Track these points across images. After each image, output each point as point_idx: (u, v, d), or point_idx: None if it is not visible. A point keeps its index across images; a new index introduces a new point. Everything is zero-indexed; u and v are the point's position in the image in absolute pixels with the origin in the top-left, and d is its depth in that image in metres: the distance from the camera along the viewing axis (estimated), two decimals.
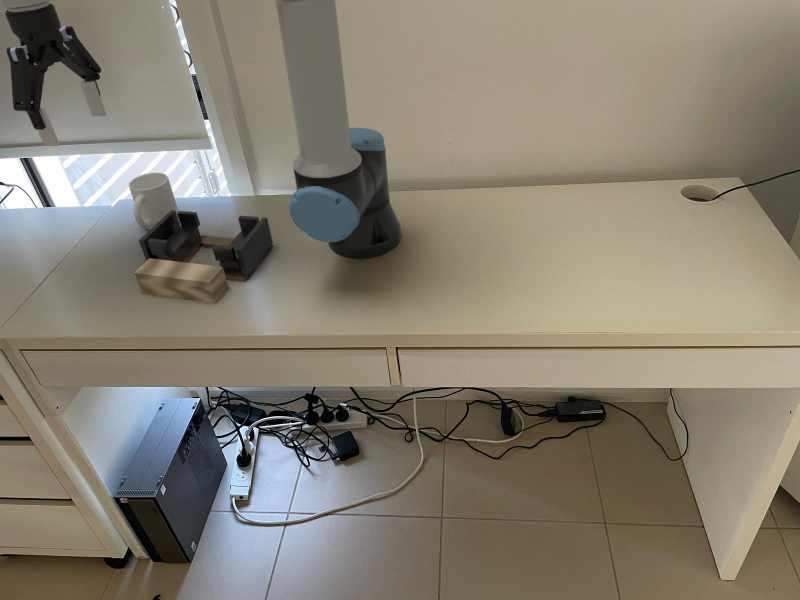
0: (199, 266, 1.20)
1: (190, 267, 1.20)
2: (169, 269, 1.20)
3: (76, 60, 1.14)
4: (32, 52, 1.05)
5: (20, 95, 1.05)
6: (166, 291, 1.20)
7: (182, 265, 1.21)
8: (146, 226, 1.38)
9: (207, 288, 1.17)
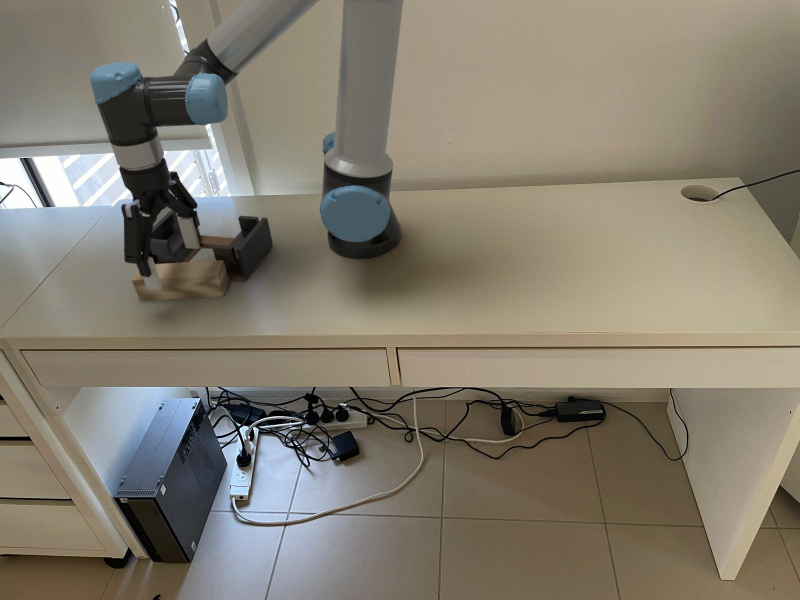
0: (198, 263, 1.21)
1: (189, 266, 1.20)
2: (168, 271, 1.19)
3: (178, 202, 1.16)
4: (144, 206, 1.07)
5: (132, 249, 1.06)
6: (168, 294, 1.20)
7: (180, 265, 1.21)
8: None
9: (215, 282, 1.18)
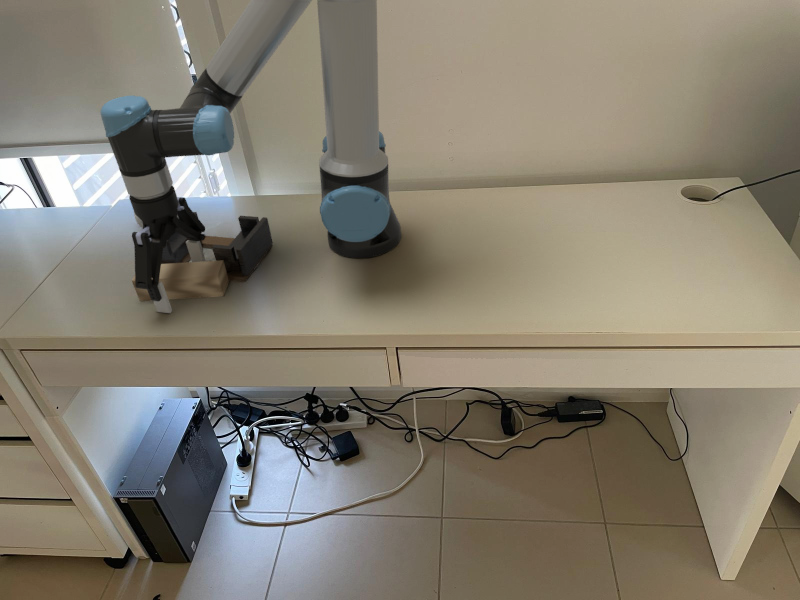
0: (198, 263, 1.21)
1: (189, 266, 1.20)
2: (168, 271, 1.19)
3: (187, 227, 1.19)
4: (154, 233, 1.10)
5: (143, 275, 1.09)
6: (167, 294, 1.20)
7: (180, 265, 1.21)
8: None
9: (215, 282, 1.18)
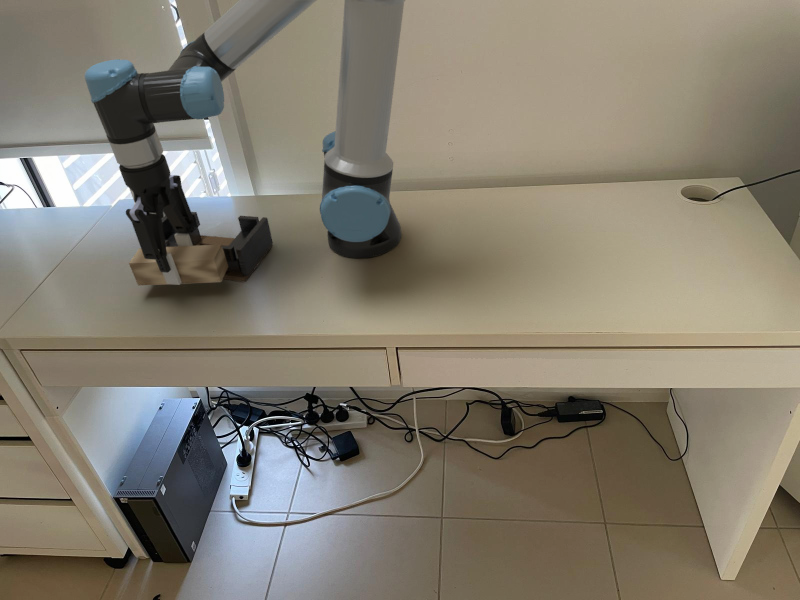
0: (196, 247, 1.18)
1: (187, 249, 1.18)
2: None
3: (177, 210, 1.15)
4: (147, 204, 1.07)
5: (149, 248, 1.09)
6: None
7: (178, 249, 1.19)
8: None
9: (211, 266, 1.16)
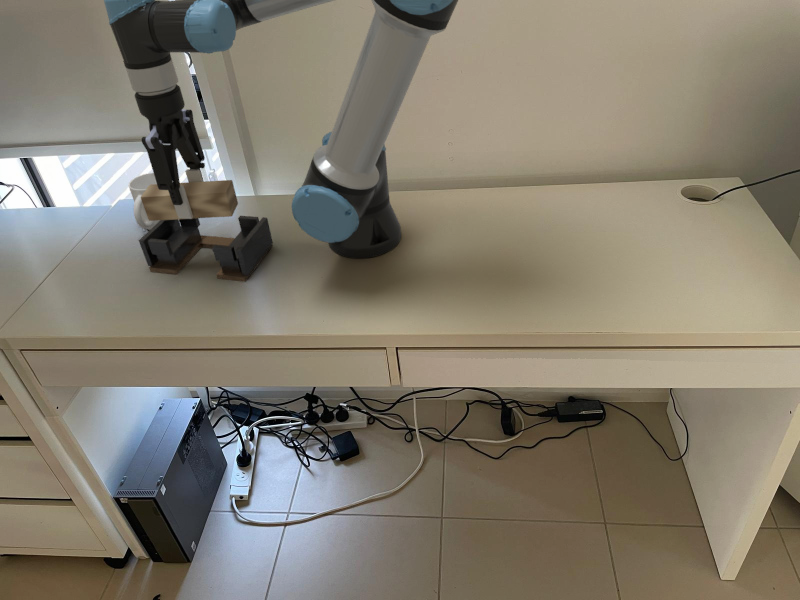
0: (207, 183, 1.20)
1: (198, 185, 1.20)
2: None
3: (189, 144, 1.17)
4: (162, 133, 1.09)
5: (163, 178, 1.11)
6: None
7: (189, 184, 1.20)
8: (146, 226, 1.38)
9: (223, 200, 1.18)
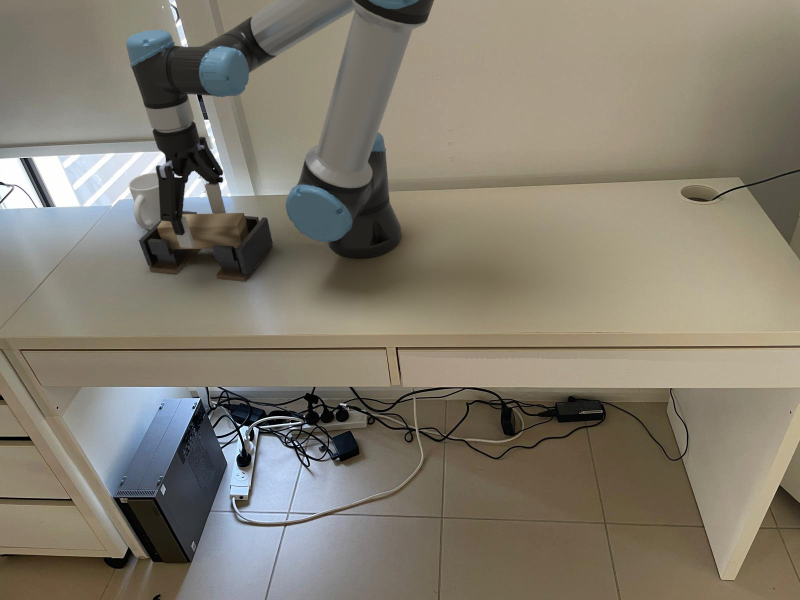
0: (220, 215, 1.26)
1: (211, 216, 1.26)
2: (191, 220, 1.25)
3: (206, 167, 1.23)
4: (176, 167, 1.14)
5: (167, 208, 1.14)
6: None
7: (203, 216, 1.26)
8: (146, 226, 1.38)
9: (234, 232, 1.24)
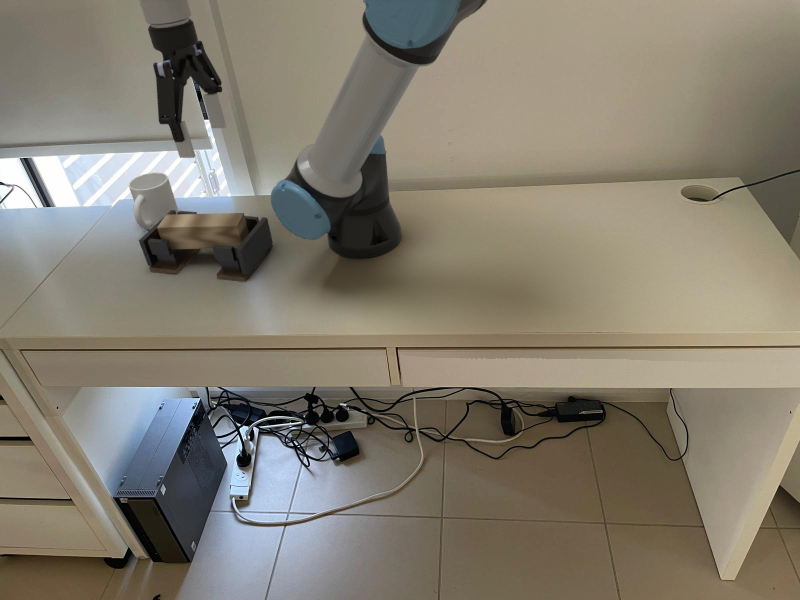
0: (220, 215, 1.26)
1: (211, 216, 1.26)
2: (191, 220, 1.25)
3: (204, 73, 1.17)
4: (175, 66, 1.08)
5: (166, 108, 1.07)
6: (190, 242, 1.26)
7: (203, 216, 1.26)
8: (146, 226, 1.38)
9: (234, 232, 1.24)
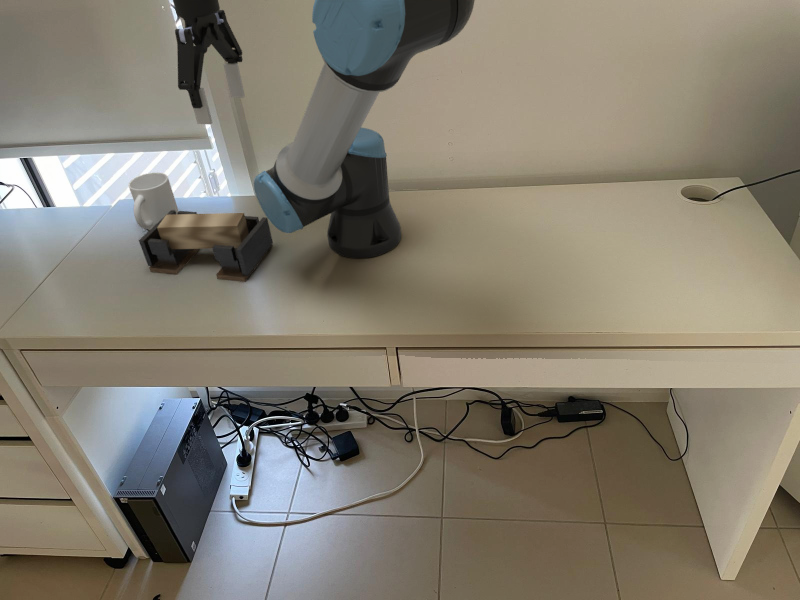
0: (220, 215, 1.26)
1: (211, 216, 1.26)
2: (191, 220, 1.25)
3: (225, 42, 1.20)
4: (196, 33, 1.11)
5: (186, 74, 1.10)
6: (190, 242, 1.26)
7: (203, 216, 1.26)
8: (146, 226, 1.38)
9: (234, 232, 1.24)
